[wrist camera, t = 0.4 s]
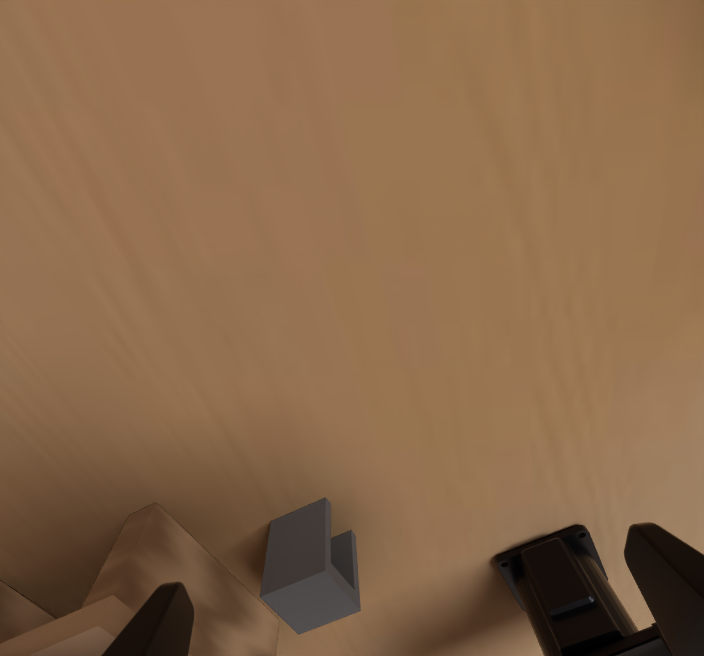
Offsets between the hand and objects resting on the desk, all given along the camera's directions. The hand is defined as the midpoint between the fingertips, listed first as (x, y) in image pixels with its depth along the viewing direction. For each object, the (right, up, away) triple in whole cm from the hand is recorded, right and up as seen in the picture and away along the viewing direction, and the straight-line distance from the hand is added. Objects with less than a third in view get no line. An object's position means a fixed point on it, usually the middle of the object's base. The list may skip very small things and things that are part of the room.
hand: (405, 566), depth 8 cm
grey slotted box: (-4, -8, +19) cm, 21 cm away
